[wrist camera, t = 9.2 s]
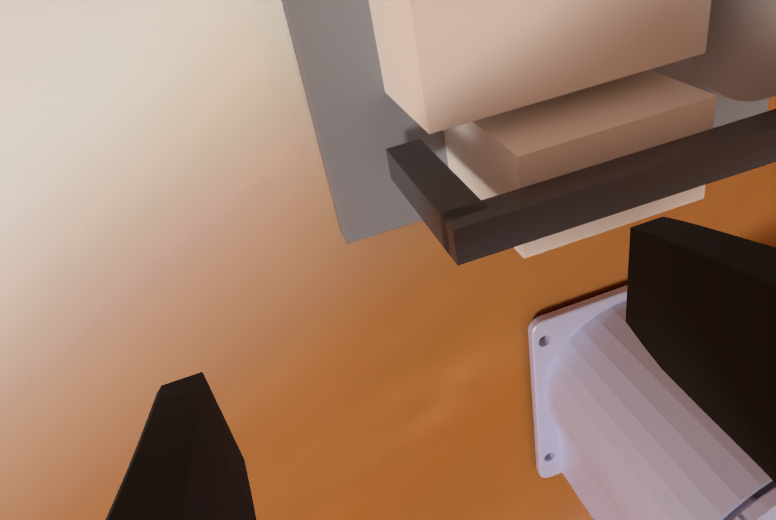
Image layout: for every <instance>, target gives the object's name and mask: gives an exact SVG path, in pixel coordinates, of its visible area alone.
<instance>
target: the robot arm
mask: <svg viewBox="0 0 776 520" xmlns="http://www.w3.org/2000/svg"><path fill="white" fill-rule="evenodd" d="M528 337H529V354H530V370H531V386H532V402H533V419H534V435H535V451H536V468H537V471H538V473H539V474H540V476H541V477H543V478H549V477H552V476H554V475H557V474H559V473H563V475H564V476H565V478H566V479H567V481H568V482H569V484H570V485H571V487H572V488H573V490H574V491H575V493H576V494H577V496H578V497H579V499H580V500H581V502H582V503H583V505H584V506H585V508H586V509H587V510H588V512H589V513H590V515H591V516H592V518H593V519H594V520H776V248H775V247H771V246H768V245H764V244H761V243H758V242H754V241H751V240H747V239H744V238H741V237H737V236H734V235H730V234H727V233H724V232H720V231H717V230H713V229H710V228H706V227H703V226H699V225H695V224H692V223H688V222H684V221H680V220H676V219H671V218H667V217H660V218H658V219H655V220H652V221H649V222H646V223H643V224H640V225H637V226H634V227H631V230H630V248H629V266H628V284H627V285H626V286H623V287H620V288H618V289H615V290H612V291H609V292H606V293H603V294H601V295H598V296H595V297H592V298H589V299H586V300H584V301H581V302H578V303H575V304H572V305H569V306H567V307H564V308H561V309H558V310H555V311H552V312H550V313H547V314H544V315H541V316H538V317H537V318H535V319H534V320H533V321H532V322H531V323H530V325H529V328H528ZM542 337H544V338H543V339H541V338H542ZM540 339H541V340H540ZM106 520H256V516H255V511H254V505H253V500H252V495H251V490H250V485H249V480H248V476H247V471H246V466H245V461H244V458H243V456H242V454H241V452H240V450H239V448H238V446H237V444H236V442H235V440H234V437H233V435H232V433H231V431H230V429H229V427H228V425H227V423H226V421H225V419H224V416H223V414H222V412H221V410H220V408H219V406H218V404H217V402H216V400H215V398H214V395H213V393H212V391H211V389H210V387H209V385H208V383H207V381H206V379H205V377H204V374H203V372H201V373H198V374H195V375H192V376H189V377H186V378H183V379H180V380H177V381H174V382H171V383H168V384H165V385H162V386H161V387H160V389H159V391H158V393H157V395H156V397H155V400H154V403H153V405H152V408H151V411H150V413H149V416H148V419H147V421H146V424H145V427H144V429H143V432H142V435H141V437H140V440H139V442H138V445H137V447H136V450H135V452H134V455H133V457H132V460H131V462H130V465H129V467H128V470H127V472H126V474H125V477H124V479H123V481H122V484H121V486H120V488H119V490H118V493H117V495H116V497H115V500H114V502H113V504H112V507H111V509H110V511H109V514H108V516H107V518H106Z"/></svg>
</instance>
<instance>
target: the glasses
mask: <svg viewBox="0 0 776 520" xmlns="http://www.w3.org/2000/svg"><path fill="white" fill-rule="evenodd" d="M690 60H691V62H692V63H693V65H694V67H695V69H696V70H697V72H698V73H699V75H700V76H701V77H702V79H703V80H704V81H705V82H706V83H707V84H708V85H709V86H710V87H711V88H712V89H714V90H715V91H716V92H718V93H719V94H721V95H723V96H725V97H727V98H730V99H733V100H737V101H744V102H750V101H758V100H763V99H766V98H769V97H773V96H776V0H711V9H710V17H709V26H708V35H707V44H706V52H705V53H704V54H701V55H697V56H694V57H690ZM386 154H387V160H388V165H389V170H390V176H391V179H392V180H393V182H394V183H395V184H396V186H397V187H398V188H399V190H400V191H401V192H402V193H403V195H404V196H405V197H406V199H407V200H408V201H409V203H410V204H411V205H412V207H413V208H414V209H415V210H416V212H417V213H418V214H419V216H420V217H421V218H422V220H423V221H424V222H425V224H426V225H427V226H428V227H429V229H430V230H431V231H432V233H433V234H434V235H435V237H436V238H437V239H438V240H439V242H440V243H441V244H442V246H443V247H444V248H445V250H446V251H447V252H448V254H449V255H450V256H451V257H452V259H453V260H454V261H455V263H456V264H457V265H461V264H464V263H467V262H470V261H473V260H476V259H479V258H482V257H485V256H488V255H491V254H494V253H497V252H500V251H504V250H507V249H510V248H513V247H516V246H519V245H522V244H525V243H528V242H531V241H534V240H537V239H540V238H543V237H546V236H549V235H553V234H556V233H559V232H562V231H565V230H568V229H571V228H574V227H577V226H580V225H583V224H586V223H589V222H592V221H595V220H598V219H602V218H605V217H608V216H611V215H614V214H617V213H620V212H623V211H626V210H629V209H632V208H635V207H638V206H641V205H644V204H647V203H650V202H654V201H657V200H660V199H663V198H666V197H669V196H672V195H675V194H678V193H681V192H684V191H687V190H690V189H693V188H696V187H699V186H703V185H706V184H709V183H712V182H715V181H718V180H721V179H724V178H727V177H730V176H733V175H736V174H739V173H742V172H745V171H748V170H752V169H755V168H758V167H761V166H764V165H767V164H770V163H773V162H776V109H774V110H770V111H767V112H764V113H761V114H758V115H754V116H751V117H748V118H745V119H742V120H738V121H735V122H732V123H729V124H725V125H722V126H719V127H716V128H713V129H709V130H706V131H703V132H700V133H696V134H693V135H690V136H687V137H684V138H680V139H677V140H674V141H671V142H668V143H664V144H661V145H658V146H655V147H651V148H648V149H645V150H642V151H639V152H635V153H632V154H629V155H626V156H622V157H619V158H616V159H613V160H610V161H606V162H603V163H600V164H597V165H594V166H590V167H587V168H584V169H581V170H577V171H574V172H571V173H568V174H565V175H561V176H558V177H555V178H552V179H548V180H545V181H542V182H539V183H536V184H532V185H529V186H526V187H523V188H519V189H516V190H513V191H510V192H507V193H503V194H500V195H497V196H494V197H491V198H487V199H484V200H480V199H479V198H478V197H477V196H476V195H475V194H474V193H473V192H472V191H471V190H470V189H469V188H468V187H467V186H466V185H465V184H464V183H463V182H462V181H461V180H460V179H459V178H458V177H457V176H456V175H455V174H454V173H453V172H452V171H451V169H450V168H449V167H448V166H447V165H446V164H445V163H444V162H443V161H442V160H441V159H440V158H439V157H438V156H437V155H436V154H435V153H434V152H433V151H432V150H431V149H430V148H429V147H428V146H427V145H426V144H425V143H424V142H423V141H422V140H421V139H418V140H415V141H411V142H408V143H404V144H401V145H397V146H394V147H391V148H387V149H386Z"/></svg>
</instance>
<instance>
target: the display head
mask: <svg viewBox="0 0 776 520" xmlns="http://www.w3.org/2000/svg"><path fill="white" fill-rule="evenodd" d="M282 3H283V7H284V11H285V15H286V19H287V23H288V27H289V31H290V34H291V38H292V42H293V46H294V50H295V54H296V58H297V62H298V66H299V70H300V74H301V77H302V81H303V85H304V89H305V93H306V97H307V101H308V105H309V109H310V113H311V117H312V120H313V124H314V128H315V132H316V136H317V140H318V144H319V148H320V152H321V156H322V160H323V163H324V167H325V171H326V175H327V179H328V183H329V187H330V191H331V195H332V199H333V203H334V206H335V210H336V214H337V218H338V222H339V226H340V230H341V233H342V235H343V237H344V239H345V241H346V243H347V244H348V243H351V242H354V241H357V240H360V239H364V238H367V237H370V236H373V235H376V234H379V233H383V232H386V231H389V230H392V229H395V228H398V227H402V226H405V225H408V224H411V223H414V222H417V221H421V220H422V218H421V217H420V216H419V214H418V213H417V212H416V210H415V209H414V208H413V207H412V205H411V204H410V203H409V201H408V200H407V199H406V197H405V196H404V195H403V193H402V192H401V191H400V190H399V188H398V187H397V186H396V184H395V183H394V182H393V180H392V179H391V176H390V170H389V165H388V160H387V154H386V149H387V148H391V147H394V146H397V145H401V144H404V143H408V142H411V141H415V140H418V139H421V140H422V141H423V142H424V143H425V144H426V145H427V146H428V147H429V148H430V149H431V150H432V151H433V152H434V153H435V154H436V155H437V156H438V157H439V158H440V159H441V160H442V161H443V162H444V163H445V164H446V165H447V166H448V167H449V168H450V169H451V171H452V172H453V173H454V174H455V175H456V176H457V177H458V178H459V179H460V180H461V181H462V182H463V183H464V184H465V185H466V186H467V187H468V188H469V189H470V190H471V191H472V192H473V193H474V194H475V195H476V196H477V197H478V198H479V199H480V200H484V199H487V198H491V197H494V196H497V195H500V194H503V193H507V192H510V191H513V190H516V189H519V188H523V187H526V186H529V185H532V184H536V183H539V182H542V181H545V180H548V179H552V178H555V177H558V176H561V175H565V174H568V173H571V172H574V171H577V170H581V169H584V168H587V167H590V166H594V165H597V164H600V163H603V162H606V161H610V160H613V159H616V158H619V157H622V156H626V155H629V154H632V153H635V152H639V151H642V150H645V149H648V148H651V147H655V146H658V145H661V144H664V143H668V142H671V141H674V140H677V139H680V138H684V137H687V136H690V135H693V134H696V133H700V132H703V131H706V130H709V129H713V128H714V127H718V126H721V125H724V124H727V123H730V122H733V121H737V120H740V119H743V118H746V117H749V116H752V115H756V114H759V113H762V112H765V111H767V109H768V103H769V98H766V99H763V100H758V101H750V102H744V101H737V100H733V99H730V98H727V97H725V96H723V95H721V94H719V93H718V92H716V91H715V90H714V89H712V88H711V87H710V86H709V85H708V84H707V83H706V82H705V81H704V80H703V79H702V77H701V76H700V75H699V73H698V72H697V70H696V69H695V67H694V65H693V63H692V62H691V60H690V57H694V56H697V55H701V54H704V53H705V52H706V44H707V35H708V26H709V17H710V9H711V0H282ZM705 186H706V185H703V186H699V187H696V188H693V189H690V190H687V191H684V192H681V193H678V194H675V195H672V196H669V197H666V198H663V199H660V200H657V201H654V202H650V203H647V204H644V205H641V206H638V207H635V208H632V209H629V210H626V211H623V212H620V213H617V214H614V215H611V216H608V217H605V218H602V219H598V220H595V221H592V222H589V223H586V224H583V225H580V226H577V227H574V228H571V229H568V230H565V231H562V232H559V233H556V234H553V235H549V236H546V237H543V238H540V239H537V240H534V241H531V242H528V243H525V244H522V245H519V246H516V247H514V248H515V250H516V251H517V252H518V253H519V254H520V255H521V256H522V257H523V258H524V259H525V258H528V257H531V256H534V255H537V254H540V253H543V252H546V251H549V250H552V249H555V248H557V247H560V246H563V245H566V244H569V243H572V242H575V241H578V240H581V239H584V238H587V237H590V236H593V235H596V234H599V233H602V232H605V231H608V230H611V229H614V228H617V227H620V226H623V225H626V224H629V223H632V222H635V221H638V220H641V219H644V218H647V217H650V216H653V215H656V214H659V213H662V212H665V211H668V210H671V209H674V208H677V207H680V206H683V205H686V204H689V203H691V202H694V201H697V200H700V199H703V198H704V193H705Z"/></svg>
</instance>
